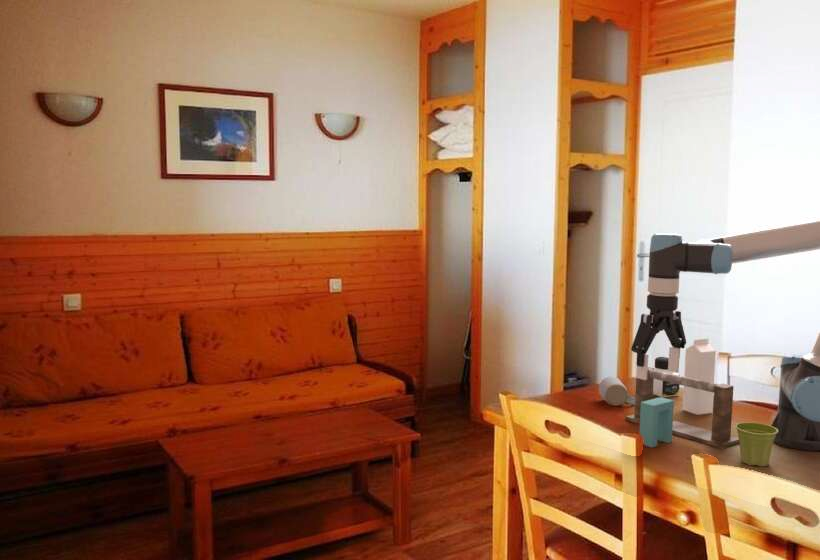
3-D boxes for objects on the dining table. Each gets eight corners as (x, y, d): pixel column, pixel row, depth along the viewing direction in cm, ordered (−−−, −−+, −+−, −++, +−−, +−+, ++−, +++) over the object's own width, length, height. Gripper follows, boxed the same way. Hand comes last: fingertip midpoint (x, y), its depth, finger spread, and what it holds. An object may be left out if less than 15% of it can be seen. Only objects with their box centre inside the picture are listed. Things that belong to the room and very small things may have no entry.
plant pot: (757, 471, 176) (759, 435, 175) (724, 458, 184) (726, 424, 184) (784, 466, 180) (787, 430, 179) (751, 453, 188) (754, 420, 187)
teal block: (658, 437, 200) (660, 397, 199) (671, 441, 197) (673, 400, 196) (638, 443, 195) (640, 402, 194) (652, 447, 192) (654, 405, 191)
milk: (682, 410, 226) (685, 338, 224) (696, 407, 229) (700, 336, 227) (698, 415, 221) (701, 341, 219) (712, 412, 224) (716, 340, 221)
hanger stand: (739, 442, 197) (743, 386, 195) (722, 448, 192) (726, 390, 190) (642, 415, 221) (645, 364, 219) (625, 419, 216) (627, 368, 214)
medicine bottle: (662, 397, 240) (664, 360, 239) (646, 392, 247) (648, 356, 245) (679, 395, 243) (681, 359, 242) (663, 390, 249) (665, 354, 248)
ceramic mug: (605, 407, 229) (606, 382, 228) (597, 399, 237) (599, 375, 236) (639, 407, 229) (641, 383, 228) (630, 400, 237) (632, 376, 236)
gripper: (678, 289, 202) (673, 366, 205) (619, 295, 187) (615, 378, 190) (703, 292, 196) (698, 372, 199) (645, 299, 181) (640, 384, 184)
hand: (657, 375), depth 194 cm, fingers open, 13 cm apart
